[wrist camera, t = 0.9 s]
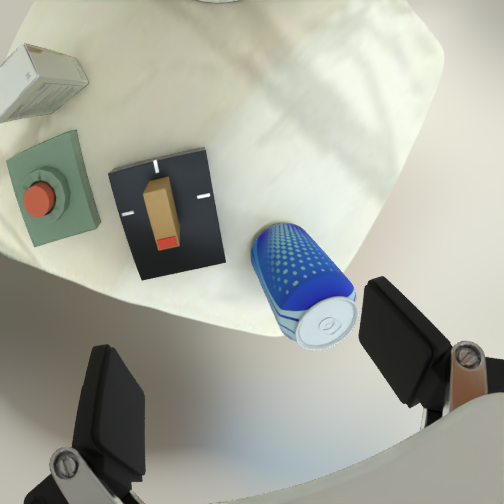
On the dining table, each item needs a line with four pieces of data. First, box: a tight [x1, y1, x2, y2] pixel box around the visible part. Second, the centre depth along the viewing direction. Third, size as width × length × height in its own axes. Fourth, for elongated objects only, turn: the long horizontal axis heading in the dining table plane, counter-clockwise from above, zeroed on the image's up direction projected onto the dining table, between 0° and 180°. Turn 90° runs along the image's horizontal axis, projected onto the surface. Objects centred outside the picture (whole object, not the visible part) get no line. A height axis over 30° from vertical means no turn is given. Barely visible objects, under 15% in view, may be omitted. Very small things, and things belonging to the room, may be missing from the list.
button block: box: [6, 130, 100, 247], centre depth 26 cm, size 12×10×4 cm
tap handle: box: [143, 177, 180, 250], centre depth 28 cm, size 6×2×5 cm, turn 7°
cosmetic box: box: [0, 43, 89, 123], centre depth 17 cm, size 6×4×12 cm
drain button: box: [24, 182, 55, 217], centre depth 24 cm, size 4×4×2 cm
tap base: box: [108, 147, 226, 280], centre depth 32 cm, size 14×11×3 cm
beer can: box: [251, 223, 359, 350], centre depth 32 cm, size 8×8×16 cm
